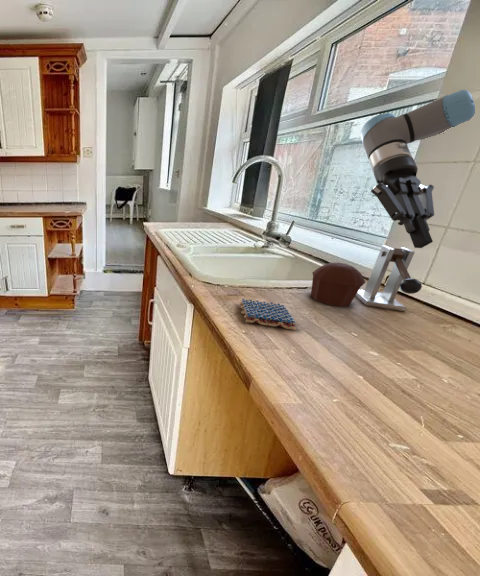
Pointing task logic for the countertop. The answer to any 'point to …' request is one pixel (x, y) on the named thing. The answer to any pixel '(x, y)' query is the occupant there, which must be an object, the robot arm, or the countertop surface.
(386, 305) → the silver metal stand
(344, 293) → the muffin
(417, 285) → the arm
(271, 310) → the woven mat
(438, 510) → the countertop surface
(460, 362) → the countertop surface
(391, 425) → the countertop surface
